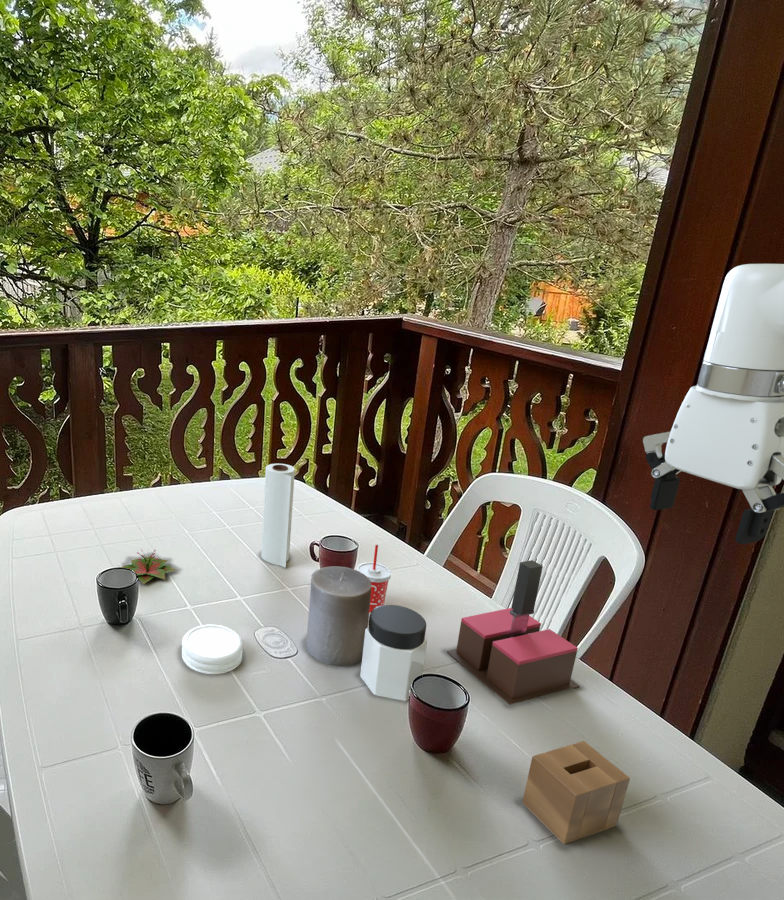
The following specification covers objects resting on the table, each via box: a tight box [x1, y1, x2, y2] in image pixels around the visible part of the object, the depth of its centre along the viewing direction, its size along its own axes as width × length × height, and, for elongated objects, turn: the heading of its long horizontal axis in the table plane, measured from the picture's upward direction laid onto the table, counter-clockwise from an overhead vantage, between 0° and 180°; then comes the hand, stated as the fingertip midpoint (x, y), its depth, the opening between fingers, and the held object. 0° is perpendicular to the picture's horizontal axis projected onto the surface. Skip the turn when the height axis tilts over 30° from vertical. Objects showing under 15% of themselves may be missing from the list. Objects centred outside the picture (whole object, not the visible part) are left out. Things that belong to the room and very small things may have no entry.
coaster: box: [181, 624, 244, 675], centre depth 104 cm, size 10×10×4 cm
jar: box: [359, 604, 428, 702], centre depth 97 cm, size 9×8×12 cm
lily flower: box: [120, 548, 177, 585], centre depth 132 cm, size 12×12×5 cm
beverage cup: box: [356, 544, 392, 617], centre depth 116 cm, size 6×6×14 cm
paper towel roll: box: [260, 463, 296, 568], centre depth 134 cm, size 7×6×21 cm
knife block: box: [522, 740, 631, 845], centre depth 75 cm, size 8×6×8 cm
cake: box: [446, 607, 581, 705], centre depth 101 cm, size 14×14×8 cm
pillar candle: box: [306, 565, 372, 667], centre depth 105 cm, size 10×10×15 cm
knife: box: [509, 559, 544, 638], centre depth 99 cm, size 4×2×19 cm, turn 108°
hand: (701, 524), depth 75 cm, fingers open, 9 cm apart
